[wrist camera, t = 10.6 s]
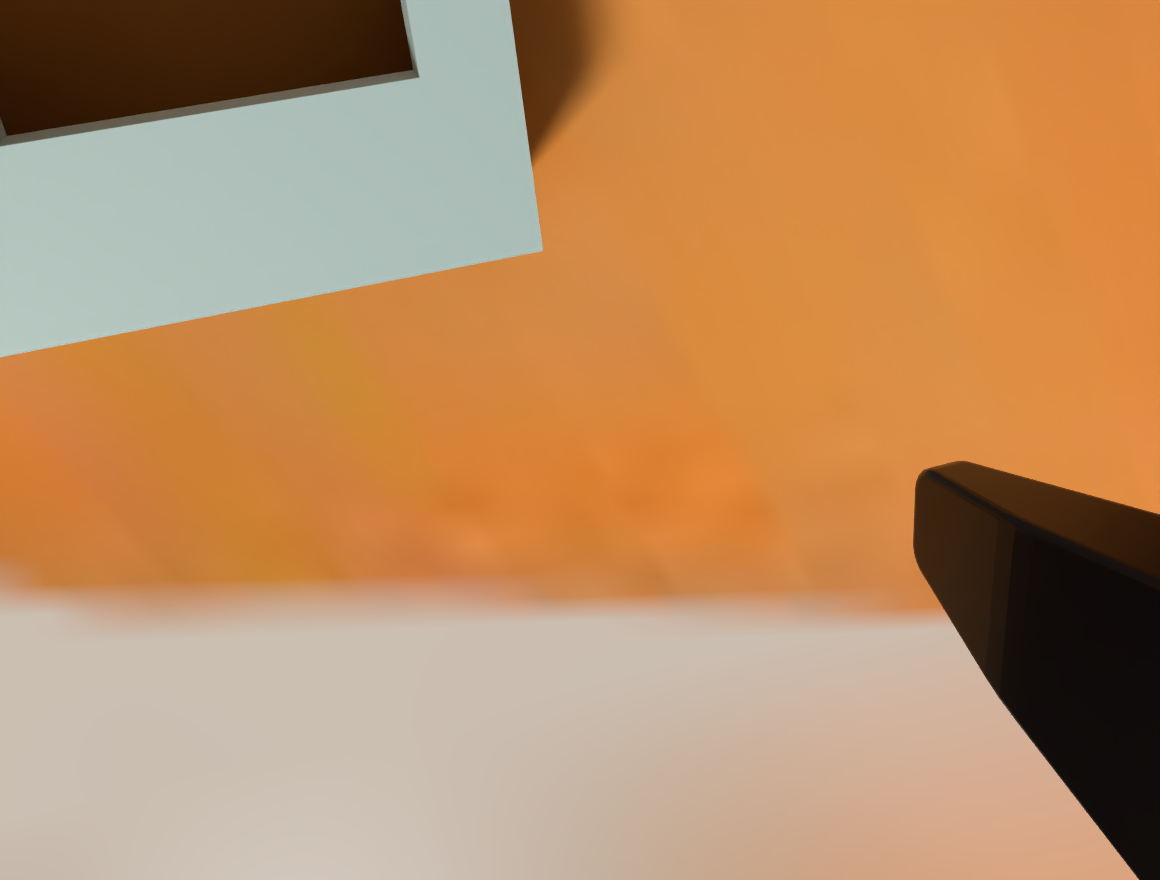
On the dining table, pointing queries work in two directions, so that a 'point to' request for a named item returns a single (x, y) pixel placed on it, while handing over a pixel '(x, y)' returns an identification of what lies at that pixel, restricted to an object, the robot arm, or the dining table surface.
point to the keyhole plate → (271, 191)
